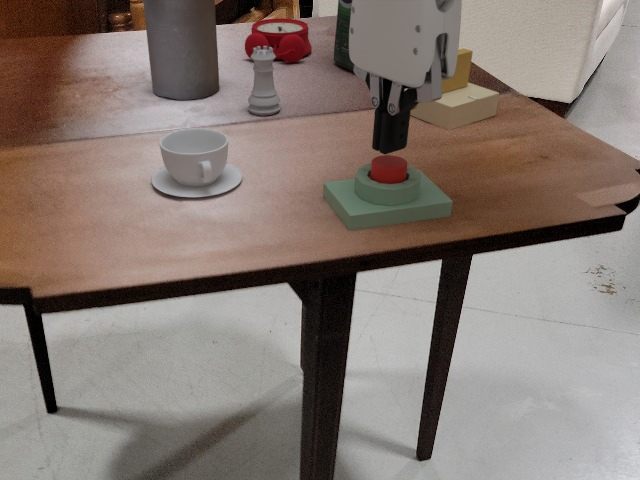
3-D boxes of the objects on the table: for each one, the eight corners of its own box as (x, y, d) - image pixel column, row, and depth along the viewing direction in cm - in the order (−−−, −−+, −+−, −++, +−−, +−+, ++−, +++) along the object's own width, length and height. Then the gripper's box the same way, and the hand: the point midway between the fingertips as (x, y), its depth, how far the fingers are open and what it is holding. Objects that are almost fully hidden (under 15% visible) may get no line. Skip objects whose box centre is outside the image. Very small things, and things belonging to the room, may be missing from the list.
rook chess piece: (286, 107, 100) (286, 46, 95) (272, 118, 96) (271, 55, 92) (256, 103, 101) (255, 42, 96) (242, 113, 98) (239, 51, 93)
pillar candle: (212, 76, 111) (205, -35, 101) (225, 97, 103) (220, -21, 94) (147, 82, 109) (135, -31, 99) (157, 103, 101) (144, -16, 92)
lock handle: (458, 83, 98) (464, 46, 95) (467, 86, 97) (473, 48, 94) (426, 92, 95) (431, 54, 92) (435, 95, 94) (440, 57, 91)
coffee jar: (402, 70, 113) (416, -68, 101) (360, 78, 110) (369, -64, 98) (365, 54, 119) (374, -77, 108) (325, 62, 116) (329, -73, 105)
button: (397, 169, 76) (398, 153, 75) (411, 183, 73) (413, 166, 72) (364, 173, 75) (366, 157, 74) (378, 187, 72) (379, 171, 71)
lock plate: (496, 115, 97) (500, 91, 95) (448, 130, 93) (452, 106, 91) (440, 95, 103) (443, 72, 101) (393, 108, 99) (395, 85, 97)
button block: (417, 184, 80) (421, 153, 78) (450, 216, 74) (455, 184, 72) (322, 197, 78) (323, 165, 76) (349, 231, 72) (351, 198, 70)
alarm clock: (316, 19, 123) (305, 19, 109) (314, 59, 125) (303, 64, 112) (255, 17, 124) (237, 17, 111) (254, 57, 127) (237, 62, 113)
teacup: (143, 171, 83) (138, 130, 80) (226, 158, 86) (224, 118, 83) (164, 208, 76) (159, 165, 73) (254, 192, 79) (253, 150, 76)
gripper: (510, -56, 58) (472, 164, 69) (382, -78, 67) (367, 119, 79) (444, -46, 54) (415, 184, 66) (318, -71, 64) (312, 134, 75)
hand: (389, 148), depth 72 cm, fingers closed
